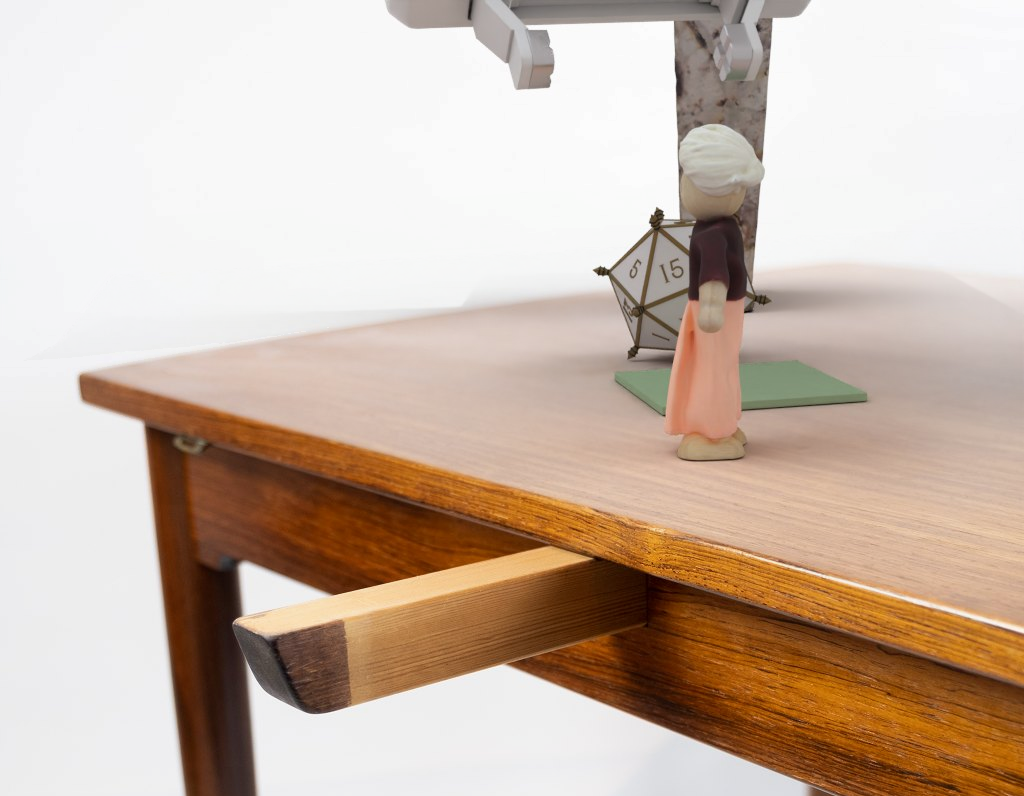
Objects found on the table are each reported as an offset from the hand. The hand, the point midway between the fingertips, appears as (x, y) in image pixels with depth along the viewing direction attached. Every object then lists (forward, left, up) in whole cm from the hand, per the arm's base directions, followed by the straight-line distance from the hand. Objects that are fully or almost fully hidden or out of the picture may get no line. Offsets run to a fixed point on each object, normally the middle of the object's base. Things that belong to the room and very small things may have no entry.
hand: (641, 74), depth 65 cm
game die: (-6, -14, -15) cm, 21 cm away
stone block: (-15, -37, -15) cm, 43 cm away
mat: (-6, -4, -15) cm, 16 cm away
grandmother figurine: (-1, +9, -15) cm, 17 cm away
